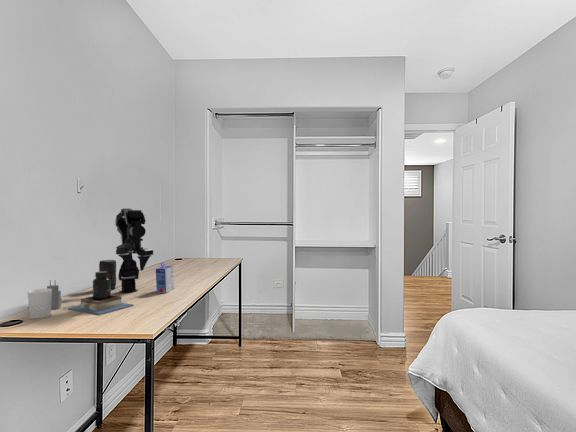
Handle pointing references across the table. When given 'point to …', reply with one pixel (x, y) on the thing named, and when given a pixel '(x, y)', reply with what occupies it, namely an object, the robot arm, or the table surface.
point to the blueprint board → (78, 308)
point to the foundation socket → (101, 303)
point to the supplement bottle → (101, 286)
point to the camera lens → (109, 270)
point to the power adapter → (55, 296)
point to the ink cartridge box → (164, 278)
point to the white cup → (40, 302)
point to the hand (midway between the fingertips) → (134, 269)
